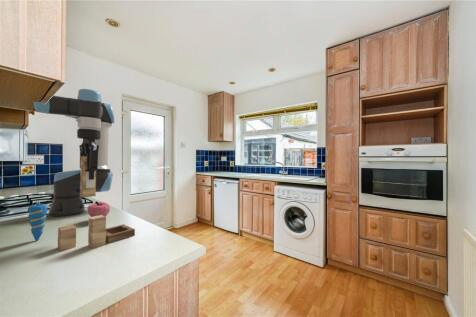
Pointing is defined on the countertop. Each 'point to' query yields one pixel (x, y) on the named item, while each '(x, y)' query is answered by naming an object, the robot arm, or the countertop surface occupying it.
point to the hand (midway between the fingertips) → (88, 186)
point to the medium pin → (97, 231)
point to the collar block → (119, 233)
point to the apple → (98, 209)
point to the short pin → (66, 237)
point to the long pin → (83, 190)
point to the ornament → (37, 219)
